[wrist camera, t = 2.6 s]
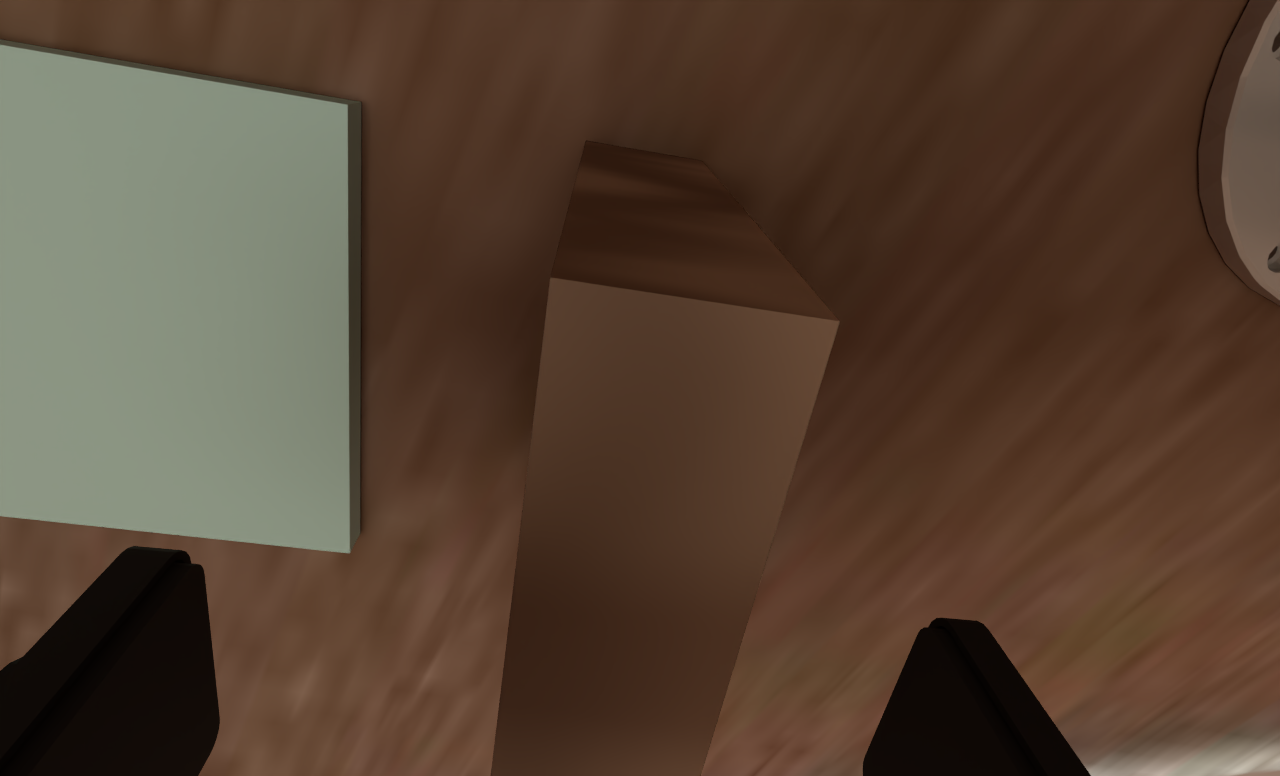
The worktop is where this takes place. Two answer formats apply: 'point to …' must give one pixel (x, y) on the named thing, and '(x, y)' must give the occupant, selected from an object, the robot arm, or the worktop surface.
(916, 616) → the worktop surface
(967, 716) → the robot arm
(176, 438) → the plate
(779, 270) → the board
